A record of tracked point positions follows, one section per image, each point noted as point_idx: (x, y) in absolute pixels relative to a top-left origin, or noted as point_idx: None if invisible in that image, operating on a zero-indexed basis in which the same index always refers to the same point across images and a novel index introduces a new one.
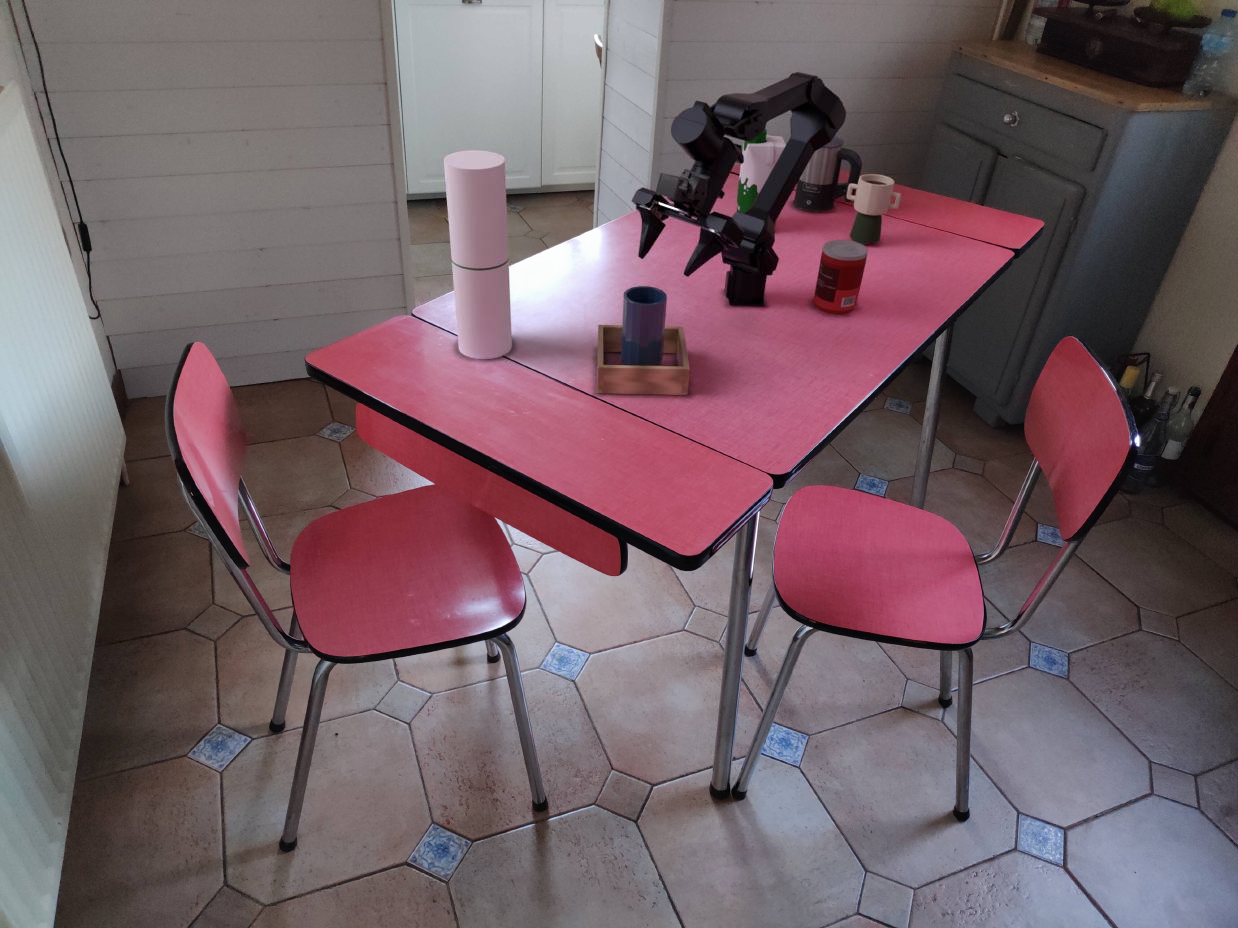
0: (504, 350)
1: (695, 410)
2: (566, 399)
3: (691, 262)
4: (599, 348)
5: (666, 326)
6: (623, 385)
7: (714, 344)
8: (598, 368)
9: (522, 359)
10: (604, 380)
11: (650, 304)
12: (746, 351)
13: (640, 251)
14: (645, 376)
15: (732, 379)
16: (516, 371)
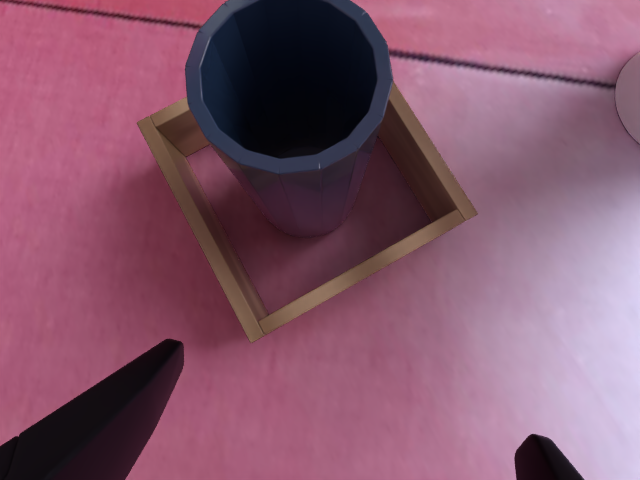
0: (624, 86)
1: (132, 109)
2: (388, 11)
3: (104, 391)
4: (397, 94)
5: (295, 314)
6: None
7: (201, 421)
8: None
9: (568, 97)
10: None
11: (225, 6)
12: None
13: (559, 465)
14: None
15: (100, 272)
16: (544, 48)
